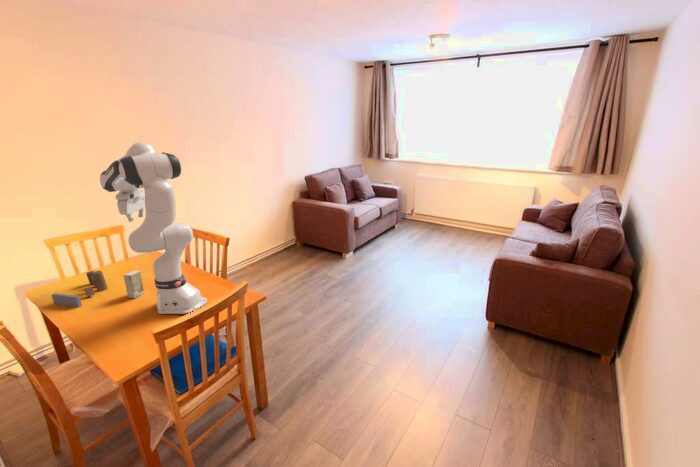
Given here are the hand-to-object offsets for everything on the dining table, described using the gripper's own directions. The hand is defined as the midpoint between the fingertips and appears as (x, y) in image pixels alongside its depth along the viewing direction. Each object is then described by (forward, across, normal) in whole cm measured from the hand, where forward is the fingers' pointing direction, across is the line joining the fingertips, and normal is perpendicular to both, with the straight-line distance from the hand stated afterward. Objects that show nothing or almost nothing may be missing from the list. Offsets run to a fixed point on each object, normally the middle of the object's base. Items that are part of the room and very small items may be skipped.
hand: (136, 219), depth 177 cm
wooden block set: (+34, +14, -18) cm, 41 cm away
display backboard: (+34, +29, -22) cm, 50 cm away
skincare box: (+34, +21, +5) cm, 40 cm away
